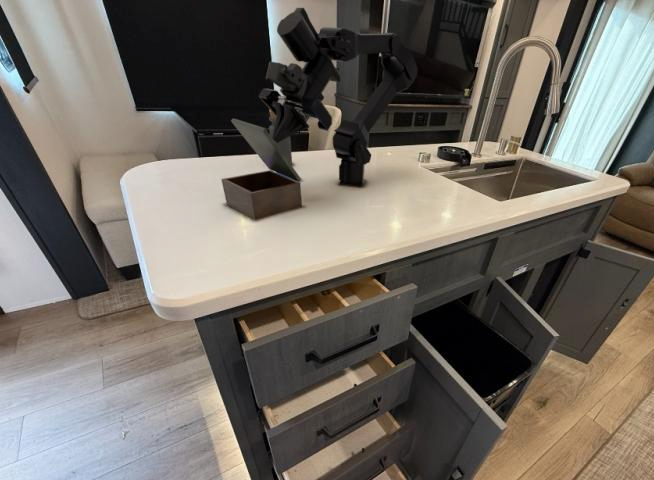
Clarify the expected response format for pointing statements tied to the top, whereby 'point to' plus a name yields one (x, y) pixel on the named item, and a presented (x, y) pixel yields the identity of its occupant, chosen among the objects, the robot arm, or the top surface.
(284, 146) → the bottle
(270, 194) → the box
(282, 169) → the lid
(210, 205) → the top surface
